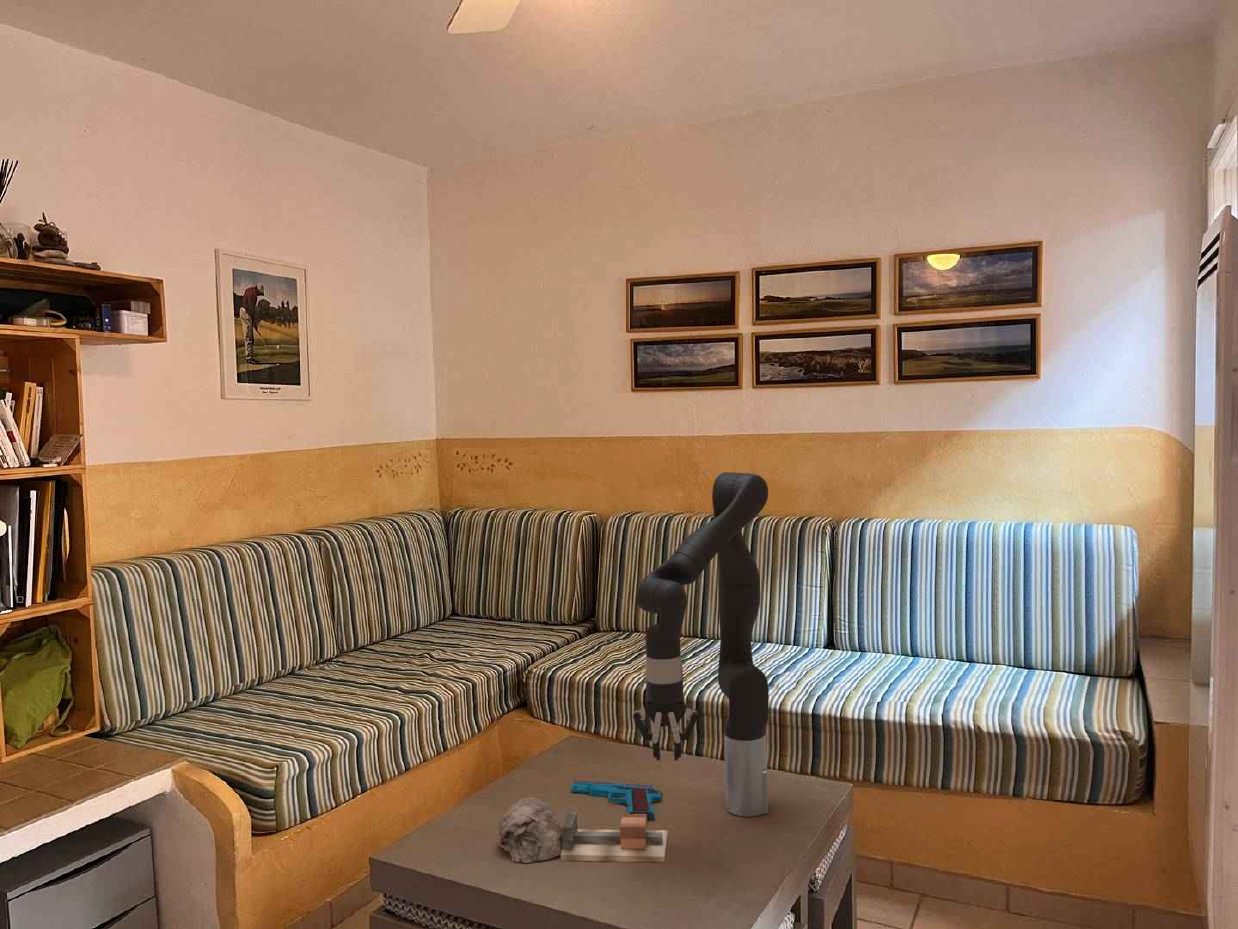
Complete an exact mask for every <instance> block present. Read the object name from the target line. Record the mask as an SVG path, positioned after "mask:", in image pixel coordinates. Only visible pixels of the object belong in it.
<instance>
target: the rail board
mask: <svg viewBox="0 0 1238 929" xmlns="http://www.w3.org/2000/svg"><path fill="white" fill-rule="evenodd" d="M561 831H562V842H563V850H562V853H561V854H560V861H563V862H565V861H569V862H571V861H573V862H575V861H576V862H620V863H621V862H624V863H627V862H629V863H630V862H631V863H632V862H633V863H665V860H666V854H667V853H666V852H667V844H668V838H669V836H668V833H669V832H668V830H663V829H662V830H659V829H657V830H655V829H653V830H651V829H650V830H649V829H647V832H646V848H645V849H622V848H621V840H620V829H586V828H585V829H582V828H581V829H579V828H578V812H577V811H567V813H566V815H565V818H564V820H563V823H562V825H561Z"/></svg>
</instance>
